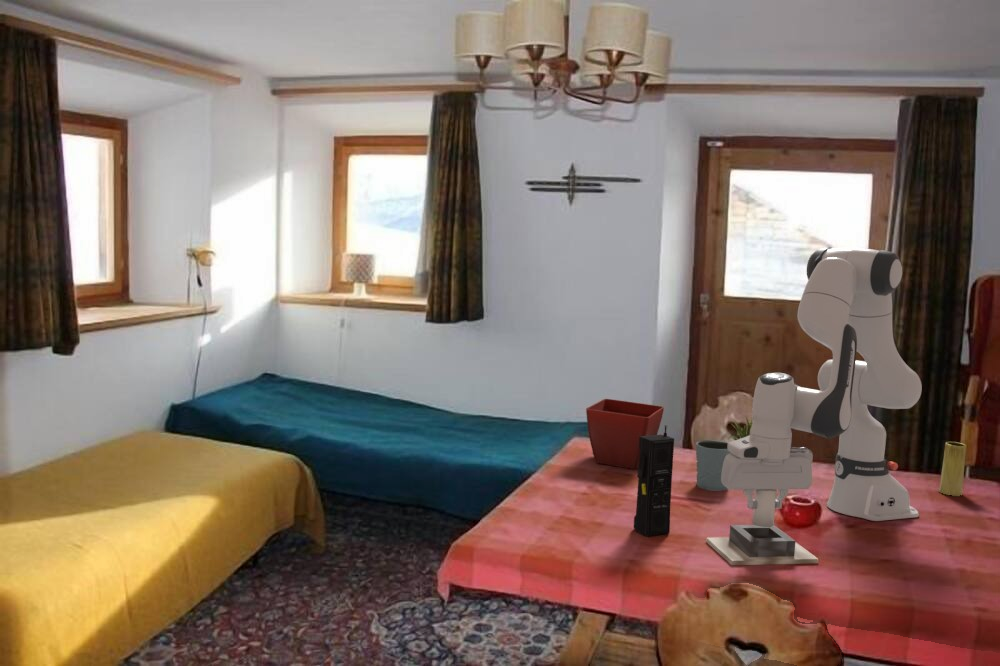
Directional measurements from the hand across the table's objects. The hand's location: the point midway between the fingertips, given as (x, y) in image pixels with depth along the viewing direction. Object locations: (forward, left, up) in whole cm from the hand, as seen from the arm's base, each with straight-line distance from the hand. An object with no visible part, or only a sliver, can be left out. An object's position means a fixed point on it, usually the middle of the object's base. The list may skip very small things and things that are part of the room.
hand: (764, 507), depth 202 cm
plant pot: (+9, -74, -11) cm, 75 cm away
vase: (-77, -41, -11) cm, 88 cm away
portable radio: (+21, -14, -11) cm, 27 cm away
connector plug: (0, 0, -4) cm, 4 cm away
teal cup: (-9, -49, -11) cm, 51 cm away
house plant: (-27, -64, -11) cm, 70 cm away
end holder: (0, 0, -10) cm, 10 cm away
